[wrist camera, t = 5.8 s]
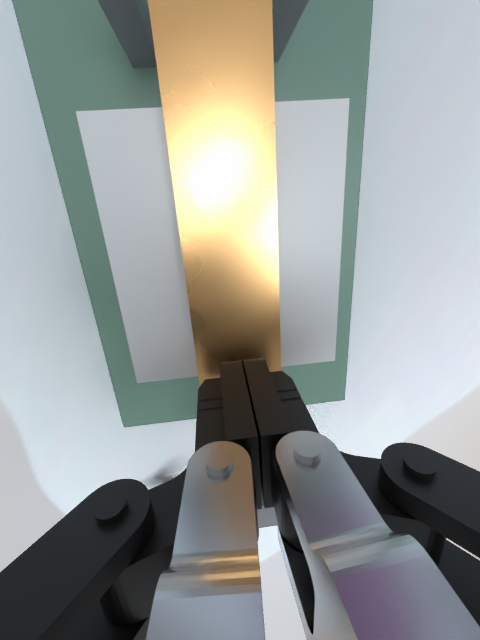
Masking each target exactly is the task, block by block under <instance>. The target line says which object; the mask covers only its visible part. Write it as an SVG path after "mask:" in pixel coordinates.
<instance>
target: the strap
mask: <svg viewBox="0 0 480 640" xmlns="http://www.w3.org/2000/svg"><path fill="white" fill-rule="evenodd" d="M148 5H149V13H150V20H151V28H152V35H153V42H154V50H155V57H156V65H157V72H158V79H159V87H160V94H161V102H162V109H163V117H164V124H165V131H166V139H167V146H168V154H169V161H170V168H171V176H172V183H173V191H174V198H175V205H176V213H177V220H178V228H179V235H180V243H181V250H182V257H183V265H184V272H185V280H186V287H187V294H188V302H189V309H190V317H191V324H192V331H193V339H194V346H195V354H196V361H197V369H198V376H199V383H200V386H201V384H202V383H203V381H204V380H205V379H213V378H221V374H220V363H221V362H230V361H239V360H241V362H242V367H243V360H248V359H257V358H265V361H266V363H267V366H268V369H269V371H270V372H274V371H281V338H280V297H279V257H278V216H277V176H276V136H275V95H274V55H273V14H272V0H148Z"/></svg>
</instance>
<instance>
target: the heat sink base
mask: <svg viewBox="0 0 480 640" xmlns="http://www.w3.org/2000/svg"><path fill="white" fill-rule="evenodd" d="M12 2H13V5H14V9H15V13H16V17H17V21H18V25H19V28H20V32H21V36H22V40H23V44H24V48H25V51H26V55H27V59H28V63H29V67H30V71H31V74H32V78H33V82H34V86H35V90H36V93H37V97H38V101H39V105H40V109H41V113H42V116H43V120H44V124H45V128H46V132H47V136H48V139H49V143H50V147H51V151H52V155H53V158H54V162H55V166H56V170H57V174H58V178H59V181H60V185H61V189H62V193H63V197H64V201H65V204H66V208H67V212H68V216H69V220H70V224H71V227H72V231H73V235H74V239H75V243H76V246H77V250H78V254H79V258H80V262H81V266H82V269H83V273H84V277H85V281H86V285H87V289H88V292H89V296H90V300H91V304H92V308H93V311H94V315H95V319H96V323H97V327H98V331H99V334H100V338H101V342H102V346H103V350H104V354H105V357H106V361H107V365H108V369H109V373H110V377H111V380H112V384H113V388H114V392H115V396H116V399H117V403H118V407H119V411H120V415H121V419H122V422H123V426H124V427H131V426H139V425H147V424H155V423H163V422H171V421H179V420H187V419H195V418H197V403H198V389H199V387H200V383H199V376H198V369H197V361H196V354H195V346H194V339H193V331H192V324H191V317H190V309H189V302H188V294H187V287H186V280H185V272H184V265H183V257H182V250H181V243H180V235H179V228H178V220H177V213H176V205H175V198H174V191H173V183H172V176H171V168H170V161H169V154H168V146H167V139H166V131H165V124H164V117H163V109H162V102H161V94H160V87H159V79H158V72H157V65H156V57H155V50H154V42H153V35H152V28H151V20H150V13H149V5H148V0H12ZM372 10H373V0H272V14H273V55H274V95H275V136H276V176H277V216H278V257H279V297H280V338H281V371H283V372H284V373H286V374H287V375H288V376H290V377H291V378H292V379H293V381H294V383H295V385H296V387H297V391H299V393H300V395H301V399H302V400H303V402H304V404H305V405H308V404H316V403H324V402H332V401H340V400H345V387H346V373H347V359H348V345H349V331H350V317H351V303H352V289H353V276H354V262H355V248H356V234H357V220H358V206H359V192H360V178H361V164H362V150H363V136H364V122H365V108H366V94H367V80H368V66H369V52H370V38H371V24H372ZM261 501H262V509H258V510H257V513H258V528H262V527H269V526H275V525H278V522H277V518H276V513H275V509H274V507H271V508H264V503H263V498H262V492H261Z"/></svg>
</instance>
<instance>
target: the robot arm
mask: <svg viewBox="0 0 480 640" xmlns="http://www.w3.org/2000/svg"><path fill="white" fill-rule="evenodd" d="M220 374H221V378H213V379H205V380H204V381H203V383H202V384H201V386H200V387H199V389H198V403H197V421H196V442H195V453H194V454H193V455H192V457H191V458H190V460H189V462H188V465H187V468H186V469H185V470H184V471H183V472H182V473H181V474H180V475H178V476H177V477H175V478H174V479H172V480H170V481H168V482H166V483H164V484H161V485H159V486H157V487H154V488H152V489H150V490H148V489H147V488H146V486H145V485H144V484H142V483H141V482H139V481H137V480H133V479H120V480H116V481H112V482H110V483H107V484H105V485H103V486H101V487H100V488H98V489H97V490H95V491H94V492H93V493H91V494H90V495H89V496H88V497H87V498H86V499H84V500H83V501H82V502H81V503H80V504H79V505H77V506H76V507H75V508H74V509H73V510H72V511H71V512H69V513H68V514H67V515H66V516H65V517H64V518H63V519H61V520H60V521H59V522H58V523H57V524H56V525H54V526H53V527H52V528H51V529H50V530H49V531H47V532H46V533H45V534H44V535H43V536H42V537H41V538H39V539H38V540H37V541H36V542H35V543H34V544H32V545H31V546H30V547H29V548H28V549H27V550H26V551H24V552H23V553H22V554H21V555H20V556H19V557H18V558H16V559H15V560H14V561H13V562H12V563H11V564H9V565H8V566H7V567H6V568H5V569H4V570H3V571H1V572H0V640H265V628H264V617H263V616H264V615H263V605H262V591H261V578H260V566H259V556H258V543H257V542H258V537H259V528H258V513H257V510H258V509H262V501H261V492H262V498H263V503H264V508H271V507H274V509H275V513H276V518H277V522H278V540H279V544H280V548H281V551H282V554H283V558H284V561H285V565H286V568H287V572H288V575H289V579H290V582H291V586H292V589H293V593H294V596H295V600H296V603H297V607H298V610H299V614H300V617H301V620H302V624H303V628H304V631H305V634H306V639H307V640H480V561H479V560H478V559H476V558H474V557H473V556H471V555H470V554H468V553H467V552H465V551H463V550H461V549H460V548H459V547H457V546H455V545H454V544H452V543H451V542H449V541H447V540H446V538H448V539H450V540H451V541H453V542H454V543H456V544H458V545H459V546H461V547H463V548H464V549H466V550H468V551H469V552H471V553H472V554H474V555H476V556H477V557H479V558H480V472H479V471H477V470H475V469H473V468H470V467H468V466H466V465H464V464H462V463H459V462H457V461H455V460H453V459H451V458H449V457H446V456H444V455H442V454H440V453H438V452H435V451H433V450H431V449H429V448H426V447H424V446H421V445H417V444H412V443H396V444H393V445H390V446H388V447H387V448H386V449H385V450H384V451H383V453H382V456H381V459H376V458H368V457H361V456H354V455H350V454H346V453H343V452H341V451H339V450H338V449H337V447H336V446H335V444H334V443H333V442H332V441H331V440H329V439H328V438H327V437H325V436H323V435H321V434H319V432H318V430H317V428H316V426H315V424H314V422H313V420H312V418H311V416H310V414H309V412H308V410H307V408H306V406H305V404H304V402H303V400H302V399H301V395H300V393H299V391H297V387H296V385H295V383H294V381H293V379H292V378H291V377H290V376H288V375H287V374H286V373H284V372H283V371H274V372H270V371H269V369H268V366H267V363H266V361H265V358H257V359H248V360H243V367H242V362H241V360H239V361H230V362H221V363H220Z"/></svg>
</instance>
